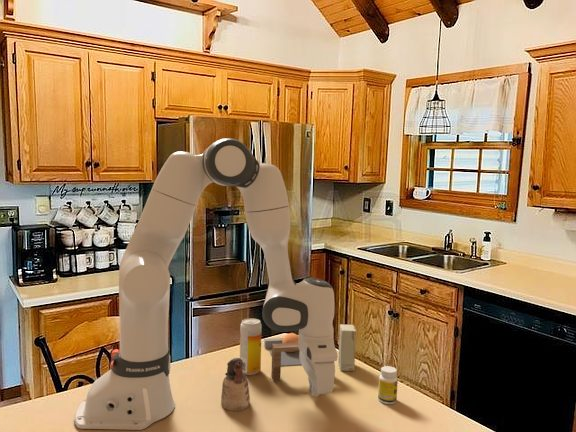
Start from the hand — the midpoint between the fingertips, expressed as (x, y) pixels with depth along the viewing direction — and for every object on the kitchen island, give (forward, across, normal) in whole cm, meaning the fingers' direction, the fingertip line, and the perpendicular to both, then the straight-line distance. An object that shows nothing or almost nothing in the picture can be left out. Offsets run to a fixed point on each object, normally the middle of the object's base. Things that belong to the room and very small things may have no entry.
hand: (313, 393), depth 121 cm
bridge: (+2, -13, 0) cm, 13 cm away
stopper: (+2, -36, 0) cm, 36 cm away
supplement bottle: (+2, +3, +19) cm, 19 cm away
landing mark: (+2, -27, 0) cm, 27 cm away
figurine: (+2, -1, -20) cm, 20 cm away
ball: (-1, -31, +1) cm, 31 cm away
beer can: (+2, -19, -14) cm, 24 cm away
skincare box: (+2, -18, +15) cm, 24 cm away
